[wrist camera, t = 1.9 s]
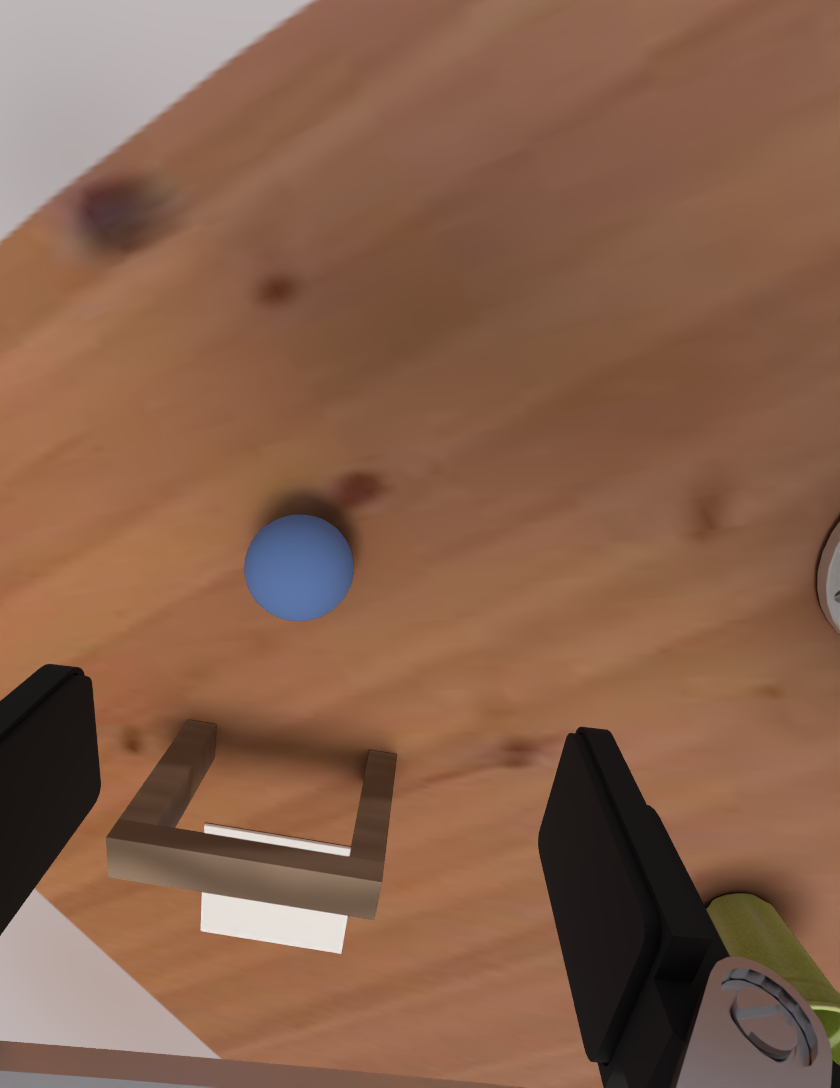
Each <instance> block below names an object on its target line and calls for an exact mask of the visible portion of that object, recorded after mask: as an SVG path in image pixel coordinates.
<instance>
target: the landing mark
mask: <svg viewBox="0 0 840 1088" xmlns="http://www.w3.org/2000/svg"><path fill="white" fill-rule="evenodd" d="M204 833H208V834H214V835H220V836H227V837H233V838H239V839H245V840H251V841H257V842H263V843H269V844H275V845H282V846H288V847H294V848H300V849H306V850H312V851H318V852H324V853H330V854H337V855H343V856H349V855H350V850H351V847H348V846H342V845H336V844H330V843H324V842H318V841H312V840H306V839H300V838H293V837H287V836H281V835H275V834H269V833H263V832H257V831H251V830H245V829H239V828H233V827H226V826H220V825H214V824H208V823H205V825H204ZM347 917H348V916H345V915H339V914H333V913H327V912H321V911H314V910H308V909H302V908H296V907H290V906H283V905H277V904H271V903H265V902H259V901H253V900H246V899H240V898H234V897H228V896H222V895H216V894H209V893H203V892H202V908H201V931H204V932H210V933H216V934H222V935H228V936H235V937H241V938H247V939H253V940H260V941H266V942H272V943H278V944H284V945H291V946H297V947H303V948H309V949H315V950H322V951H328V952H334V953H340V954H341V952H342V946H343V940H344V934H345V929H346V923H347Z"/></svg>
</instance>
